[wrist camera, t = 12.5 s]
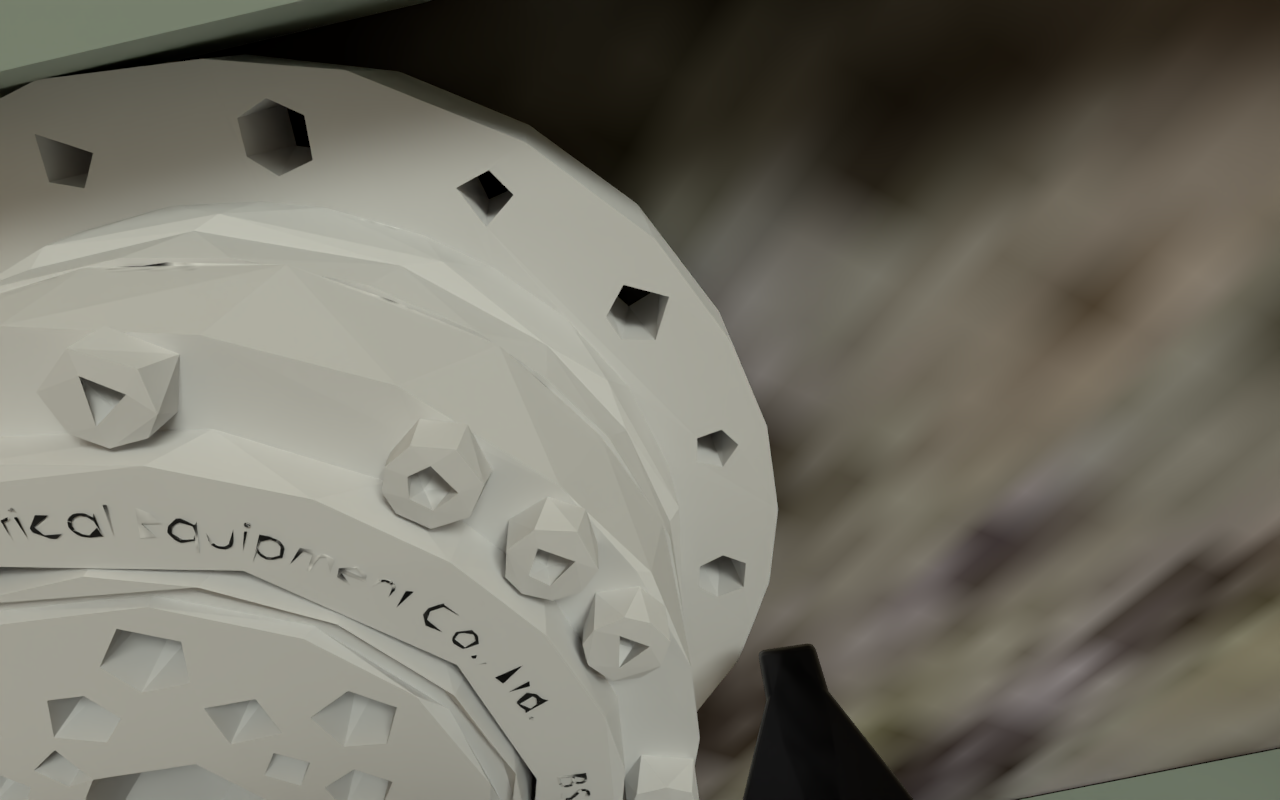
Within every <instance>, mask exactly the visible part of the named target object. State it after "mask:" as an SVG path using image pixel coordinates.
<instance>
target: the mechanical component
mask: <svg viewBox="0 0 1280 800" xmlns="http://www.w3.org/2000/svg"><path fill="white" fill-rule="evenodd" d="M287 108H289V109H292V110H294V111H296V112H298V113H300V114H303V115H304V116H305V122H306V127H307V132H308V138H309V143H310V148H309V147H302V146H297V145H296V141H295V137H294V133H293V129H292V125H291V122H290V118H289V114H288V110H287ZM488 170H489V171H490V172H491V173H492V174H493V175H494V176H495V177H496V178H497V179H498V180H499V181H500V182H501V183H502V184H503V185H504V186H505V187H506V188H507V189H508V190H509V191H506V192H504V193H502V194H500V195H497V196H495V197H493V198H491V199H489V198H488V196H487V194H486V192H485V190H484V188H483V186H482V184H481V182H480V180H479V178H478V176H479V175H481V174H483V173H484V172H486V171H488ZM623 285H626V286H630V287H634V288H637V289H641V290H645V291H649V292H651V293H650V294H648V295H646V296H645V297H643V298H642V299H640V300H638V301H637V302H635V303H633V304H632V305H630V306H628V305H627V304H626V303H624V302H623V301H622V300H621V299H620V298H619V297H618V294H619V292H620V290H621V288H622V287H623ZM777 513H778V505H777V498H776V490H775V483H774V475H773V467H772V460H771V452H770V445H769V437H768V430H767V425H766V423H765V421H764V418H763V416H762V413H761V411H760V408H759V406H758V404H757V401H756V399H755V396H754V394H753V392H752V389H751V387H750V384H749V382H748V380H747V377H746V375H745V372H744V370H743V368H742V365H741V363H740V360H739V358H738V356H737V353H736V351H735V348H734V346H733V343H732V341H731V339H730V336H729V334H728V332H727V329H726V327H725V325H724V322H723V320H722V318H721V315H720V313H719V311H718V309H717V308H716V307H715V306H714V304H713V303H712V302H711V300H710V299H709V298H708V296H707V295H706V294H705V292H704V291H703V290H702V288H701V287H700V286H699V284H698V283H697V282H696V281H695V279H694V278H693V277H692V275H691V274H690V273H689V271H688V270H687V269H686V267H685V266H684V265H683V263H682V262H681V261H680V259H679V258H678V257H677V256H676V254H675V253H674V252H673V250H672V249H671V248H670V246H669V245H668V244H667V242H666V241H665V240H664V238H663V237H662V236H661V234H660V233H659V232H658V231H657V229H656V228H655V227H654V225H653V224H652V223H651V221H650V220H649V219H648V217H647V216H646V215H645V213H644V212H643V211H642V209H641V208H640V207H639V206H638V204H637V203H635V202H634V201H632V200H631V199H630V198H628V197H627V196H626V195H624V194H623V193H621V192H620V191H619V190H617V189H616V188H615V187H613V186H612V185H611V184H609V183H608V182H606V181H605V180H604V179H602V178H601V177H600V176H598V175H597V174H595V173H594V172H593V171H591V170H590V169H589V168H587V167H586V166H585V165H583V164H582V163H580V162H579V161H578V160H576V159H575V158H574V157H572V156H571V155H569V154H568V153H567V152H565V151H564V150H563V149H561V148H560V147H559V146H557V145H556V144H554V143H553V142H552V141H550V140H549V139H548V138H546V137H545V136H543V135H542V134H541V133H539V132H538V131H537V130H535V129H534V128H533V127H531V126H530V125H528V124H526V123H523V122H521V121H518V120H516V119H513V118H511V117H509V116H506V115H504V114H501V113H499V112H496V111H494V110H492V109H489V108H487V107H484V106H482V105H479V104H477V103H475V102H472V101H470V100H467V99H465V98H462V97H460V96H458V95H455V94H453V93H450V92H448V91H445V90H443V89H441V88H438V87H436V86H433V85H431V84H428V83H426V82H423V81H421V80H419V79H416V78H414V77H411V76H409V75H406V74H404V73H402V72H399V71H391V70H382V69H373V68H364V67H355V66H346V65H337V64H328V63H319V62H311V61H302V60H293V59H284V58H275V57H266V56H257V55H248V54H243V55H233V56H224V57H214V58H205V59H197V60H189V61H181V62H173V63H165V64H157V65H149V66H141V67H133V68H126V69H118V70H110V71H102V72H94V73H86V74H78V75H70V76H62V77H54V78H47V79H39V80H35V81H33V82H31V83H29V84H27V85H25V86H23V87H22V88H20V89H18V90H16V91H14V92H12V93H10V94H8V95H6V96H4V97H2V98H0V800H699V795H698V788H697V781H696V773H695V762H696V756H697V751H698V746H699V740H700V735H699V727H698V719H697V711H698V709H699V708H700V707H701V706H702V704H703V703H704V702H705V701H706V699H707V698H708V697H709V696H710V695H711V693H712V692H713V691H714V690H715V688H716V687H717V686H718V685H719V683H720V682H721V681H722V680H723V678H724V677H725V676H726V675H727V673H728V672H729V671H730V670H731V668H732V667H733V666H734V665H735V663H736V662H737V661H738V659H739V656H740V654H741V652H742V649H743V647H744V644H745V642H746V640H747V637H748V635H749V633H750V630H751V628H752V625H753V623H754V620H755V617H756V615H757V612H758V610H759V607H760V604H761V602H762V599H763V597H764V594H765V591H766V589H767V586H768V584H769V580H770V572H771V563H772V555H773V547H774V538H775V530H776V522H777Z"/></svg>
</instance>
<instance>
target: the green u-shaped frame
mask: <svg viewBox="0 0 1280 800" xmlns="http://www.w3.org/2000/svg"><path fill="white" fill-rule="evenodd" d="M429 1H433V0H0V98H2V97H4V96H6V95H8V94H10V93H12V92H14V91H16V90H18V89H20V88H22V87H23V86H25V85H27V84H29V83H31V82H33V81H35V80H39V79H47V78H54V77H62V76H70V75H78V74H86V73H94V72H102V71H110V70H118V69H126V68H133V67H141V66H149V65H157V64H164V63H168V62H173V61H177V60H181V59H185V58H190V57H194V56H198V55H202V54H207V53H211V52H215V51H219V50H224V49H228V48H232V47H237V46H241V45H245V44H249V43H254V42H258V41H262V40H266V39H271V38H275V37H279V36H283V35H288V34H292V33H296V32H301V31H305V30H309V29H313V28H318V27H322V26H326V25H330V24H335V23H339V22H343V21H348V20H352V19H356V18H360V17H365V16H369V15H373V14H377V13H382V12H386V11H390V10H394V9H399V8H403V7H407V6H412V5H416V4H420V3H424V2H429ZM1021 800H1280V749H1276V750H1270V751H1265V752H1260V753H1255V754H1250V755H1245V756H1240V757H1235V758H1230V759H1225V760H1220V761H1214V762H1209V763H1204V764H1199V765H1194V766H1189V767H1184V768H1179V769H1174V770H1169V771H1164V772H1158V773H1153V774H1148V775H1143V776H1138V777H1133V778H1128V779H1123V780H1118V781H1113V782H1108V783H1102V784H1097V785H1092V786H1087V787H1082V788H1077V789H1072V790H1067V791H1062V792H1057V793H1052V794H1046V795H1041V796H1036V797H1031V798H1026V799H1021Z"/></svg>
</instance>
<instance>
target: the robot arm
mask: <svg viewBox="0 0 1280 800" xmlns="http://www.w3.org/2000/svg"><path fill="white" fill-rule="evenodd" d="M759 662H760V667H761V673H762V679H763V684H764V690H765V696H766V704H765V709H764V713H763V717H762V721H761V726H760V730H759V734H758V738H757V742H756V747H755V751H754V755H753V759H752V764H751V768H750V772H749V776H748V780H747V785H746V789H745V793H744V797H743V800H914V799H913V798H912V797H911V795H910V794H909V793H908V792H907V790H906V789H905V788H904V786H903V785H902V784H901V783H900V781H899V780H898V779H897V778H896V776H895V775H894V774H893V773H892V771H891V770H890V769H889V767H888V766H887V765H886V764H885V762H884V761H883V760H882V759H881V757H880V756H879V755H878V754H877V752H876V751H875V750H874V748H873V747H872V746H871V745H870V743H869V742H868V741H867V740H866V738H865V737H864V736H863V735H862V733H861V732H860V731H859V729H858V728H857V727H856V726H855V724H854V723H853V722H852V721H851V719H850V718H849V717H848V716H847V714H846V713H845V712H844V710H843V709H842V708H841V707H840V705H839V704H838V703H837V702H836V700H835V699H834V698H833V697H832V695H831V694H830V693H829V691H828V688H827V685H826V682H825V678H824V675H823V672H822V668H821V665H820V662H819V659H818V655H817V652H816V649H815V647H814V646H813V645H811V644H802V645H795V646H788V647H781V648H774V649H767V650H763V651H761V652H760V654H759Z"/></svg>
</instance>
